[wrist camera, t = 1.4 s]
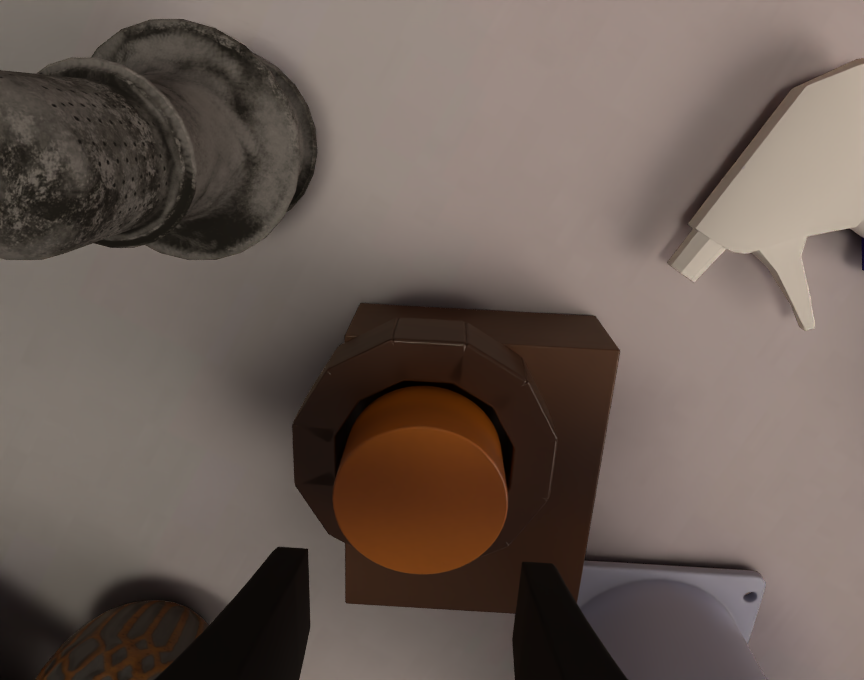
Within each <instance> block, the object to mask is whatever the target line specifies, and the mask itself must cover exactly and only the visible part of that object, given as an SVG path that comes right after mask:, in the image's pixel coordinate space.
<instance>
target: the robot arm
mask: <svg viewBox="0 0 864 680" xmlns="http://www.w3.org/2000/svg"><path fill="white" fill-rule="evenodd" d="M765 587H766V582H765V580H764V579H763V577H762V576H761V574H760V573H758V572H757V571H752V570H736V569H719V568H702V567H686V566H669V565H652V564H635V563H619V562H602V561H585V560H584V565H583V571H582V577H581V583H580V589H579V595H578V600H577V603H576V601H575V599H574V598H573V596H572V594H571V593H570V591H569V589H568V587H567V586H566V584H565V582H564V580H563V579H562V577H561V575H560V573H559V571H558V569H557V568H556V567H555V566H554V565H553V563H538V562H522V566H521V574H520V582H519V590H518V598H517V606H516V614H515V622H514V630H513V638H512V642H513V658H514V673H515V680H767V679H766V677H765V675H764V673H763V671H762V670H761V668H760V666H759V664H758V662H757V661H756V659H755V657H754V655H753V654H752V652H751V650H750V648H749V646H748V642H749V639H750V636H751V632H752V629H753V626H754V623H755V620H756V616H757V613H758V610H759V607H760V603H761V600H762V597H763V594H764V590H765ZM748 592H751V593H749V594H747V595H745V594H746V593H748ZM309 631H310V601H309V568H308V549H303V548H287V547H277V548H276V549H275V550H274V551H273V552H272V553H271V554H270V555H269V557H268V558H267V559H266V560H265V562H264V563H263V564H262V565H261V567H260V568H259V569H258V570H257V571H256V573H255V574H254V575H253V576H252V578H251V579H250V580H249V581H248V582H247V583H246V585H245V586H244V587H243V588H242V589H241V590H240V592H239V593H238V594H237V595H236V596H235V597H234V599H233V600H232V601H231V602H230V603H229V604H228V605H227V606H226V607H225V608H224V610H223V611H222V612H221V613H220V614H219V615H218V616H217V617H216V618H215V619H214V621H213V622H212V623H211V624H210V625H209V626H208V627H207V628H206V629H205V630H204V631H203V632H202V633H201V634H200V635H199V636H198V637H197V638H196V639H195V640H194V641H193V642H192V643H191V644H190V645H189V646H188V647H187V648H186V649H185V650H184V651H183V652H182V653H181V654H180V655H179V656H178V657H177V658H176V659H175V660H174V661H173V662H172V663H171V664H170V665H169V666H168V667H167V668H166V669H165V670H164V671H163V672H162V673H160V674H159V675H158V676H157V677H156V678H155V679H154V680H299V678H300V673H301V669H302V664H303V659H304V655H305V650H306V645H307V640H308V635H309Z"/></svg>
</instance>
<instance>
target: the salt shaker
mask: <svg viewBox="0 0 864 680" xmlns="http://www.w3.org/2000/svg"><path fill="white" fill-rule="evenodd" d="M316 157H317V143H316V129H315V126H314V123H313V120H312V117H311V114H310V111H309V108H308V105H307V104H306V102H305V100H304V99H303V97H302V95H301V94H300V92H299V91H298V89H297V87H296V86H295V84H294V83H293V82H292V81H291V80H290V79H289V78H288V77H287V76H286V75H285V74H284V73H283V72H282V71H281V70H280V69H279V68H278V67H276V66H274V65H273V64H271V63H269V62H268V61H266V60H264V59H263V58H261V57H259V56H258V55H256V54H253V53H252V52H251V51H250V50H249V49H248V48H247V47H246V46H245V45H243V44H241V43H239V42H238V41H236V40H234V39H233V38H231V37H229V36H228V35H226V34H224V33H223V32H221V31H219V30H217V29H216V28H213V27H209V26H205V25H202V24H198V23H195V22H191V21H187V20H184V19H156V20H148V21H145V22H142V23H139V24H136V25H133V26H130V27H127V28H124V29H121V30H120V31H119V32H118V33H116V34H115V35H114V36H112V37H111V38H110V39H108V40H107V41H106V42H104V43H103V44H102V45H100V46H99V47H98V48H97V49H96V51H95V52H94V54H93V55H92V57H91V58H68V59H65V60H62V61H59V62H56V63H53V64H49V65H48V66H46V67H45V68H44V69H42V70H41V71H40V72H38V73H37V74H32V73H22V72H12V71H1V70H0V258H2V259H6V260H43V259H46V258H50V257H53V256H57V255H61V254H64V253H67V252H69V251H72V250H75V249H78V248H81V247H83V246H86V245H89V244H92V243H95V244H99V245H103V246H107V247H111V248H134V247H138V246H142V245H146V246H148V247H150V248H152V249H154V250H156V251H158V252H160V253H163V254H167V255H171V256H175V257H179V258H183V259H187V260H216V259H220V258H224V257H227V256H231V255H234V254H238V253H241V252H243V251H245V250H246V249H248V248H250V247H251V246H253V245H254V244H256V243H258V242H259V241H261V240H262V239H264V238H266V237H267V235H268V234H269V233H270V232H271V231H272V230H273V229H274V227H275V226H276V225H277V224H278V223H279V222H280V221H281V220H282V218H283V217H284V215H285V213H286V212H287V211H289V210H290V209H291V208H292V207H293V206H294V205H295V204H296V203H297V201H298V200H299V199H300V198H301V197H302V196H303V195H304V193H305V191H306V189H307V187H308V185H309V183H310V180H311V178H312V176H313V173H314V168H315V162H316Z"/></svg>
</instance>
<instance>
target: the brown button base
mask: <svg viewBox="0 0 864 680" xmlns="http://www.w3.org/2000/svg"><path fill="white" fill-rule="evenodd" d="M619 355H620V350H619V348H618V347H617V346H616V344H615V343H614V341H613V340H612V339H611V337H610V336H609V334H608V333H607V332H606V330H605V329H604V327H603V326H602V325H601V323H600V322H599V320H598V319H597V318H596V316H585V315H567V314H549V313H531V312H513V311H495V310H477V309H459V308H440V307H422V306H404V305H386V304H368V303H360V305H359V307H358V309H357V311H356V313H355V315H354V317H353V320H352V322H351V324H350V326H349V328H348V330H347V332H346V334H345V343H343V344H341V345H339V347H337V348H336V350H335V352H334V353H333V355H332V356H331V358H330V359H329V361H328V363H327V364H326V366H325V367H324V369H323V371H322V372H321V374H320V375H319V377H318V378H317V380H316V382H315V383H314V385H313V386H312V388H311V390H310V391H309V393H308V394H307V396H306V398H305V400H304V402H303V404H302V406H301V408H300V410H299V412H298V414H297V416H296V417H295V419H294V421H293V425H292V432H293V458H294V483H295V486H296V487H297V489H298V490H299V492H300V493H301V495H302V496H303V498H304V499H305V501H306V502H307V503H308V505H309V506H310V508H311V509H312V511H313V512H314V514H315V515H316V517H317V518H318V519H319V521H320V522H321V524H322V525H323V527H324V528H325V530H326V531H327V533H328V534H329V535H330V534H331V536H333V537H335V538H337V539H338V540H340V541H342V542H344V543H345V602H346V603H348V604H365V605H381V606H398V607H414V608H431V609H447V610H464V611H480V612H497V613H513V614H516V606H517V598H518V590H519V582H520V574H521V566H522V562H538V563H553V565H554V566H555V567H556V568H557V569H558V571H559V573H560V575H561V577H562V579H563V580H564V582H565V584H566V586H567V587H568V589H569V591H570V593H571V594H572V596H573V598H574V599H575V601H576V603H577V600H578V595H579V589H580V583H581V577H582V571H583V565H584V560H585V554H586V548H587V542H588V536H589V530H590V524H591V519H592V513H593V507H594V501H595V495H596V489H597V484H598V478H599V472H600V466H601V460H602V454H603V449H604V443H605V437H606V431H607V425H608V419H609V414H610V408H611V402H612V396H613V390H614V384H615V378H616V373H617V367H618V361H619ZM411 386H434V387H440V388H444V389H448V390H451V391H454V392H456V393H459V394H460V395H462V396H464V397H466V398H468V399H469V400H471V401H472V402H474V403H475V404H476V405H477V406H479V407H480V408H481V409H482V410H483V411H484V412H485V414H486V415H487V416H488V417H489V419H490V420H491V422H492V423H493V425H494V427H495V429H496V431H497V433H498V437H499V440H500V445H501V451H502V458H503V465H504V471H505V478H506V485H507V492H508V511H507V517H506V520H505V523H504V526H503V528H502V530H501V532H500V534H499V536H498V537H497V539H496V540H495V541H494V543H493V544H492V545H491V546H490V547H489V548H488V549H487V550H486V551H485V552H484V553H483V554H482V555H480V556H479V557H478V558H476V559H475V560H473V561H472V562H470V563H468V564H466V565H464V566H462V567H459V568H457V569H454V570H450V571H447V572H442V573H436V574H410V573H403V572H399V571H395V570H392V569H389V568H386V567H383V566H381V565H379V564H377V563H375V562H373V561H371V560H370V559H368V558H366V557H365V556H364V555H362V554H361V553H360V552H359V551H357V550H356V549H355V548H354V547H353V546H352V545H351V544H350V542H349V541H348V540H347V538H346V537H345V536H344V534H343V532H342V531H341V529H340V527H339V525H338V522H337V520H336V517H335V514H334V509H333V501H332V494H333V486H334V481H335V478H336V474H337V471H338V468H339V465H340V462H341V459H342V456H343V452H344V449H345V446H346V443H347V440H348V437H349V434H350V431H351V429H352V426H353V424H354V423H355V421H356V419H357V417H358V416H359V415H360V414H361V412H362V411H363V410H364V409H365V408H366V407H367V406H368V405H369V404H370V403H372V402H373V401H375V400H376V399H377V398H379V397H381V396H383V395H385V394H386V393H389V392H391V391H394V390H397V389H401V388H405V387H411Z"/></svg>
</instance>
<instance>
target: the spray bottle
mask: <svg viewBox="0 0 864 680" xmlns="http://www.w3.org/2000/svg"><path fill="white" fill-rule="evenodd" d="M688 225H689V226H690V227H691V228H693V229H692V231H691V232H690V233H689V235H688V236H687V237H686V238H685V240H684V241H683V242H682V244H681V245H680V246H679V248H678V249H677V250H676V252H675V253H674V254H673V256H672V257H671V258H670V259H669V261H668V262H667V263H668V264H669V265H670V266H671V267H673V268H674V269H676V270H677V271H678V272H680V273H681V274H683V275H684V276H685V277H687V278H688V279H689V280H691V281H692V282H695V281H696V280H697V279H698V278H699V277H700V276H701V275H702V274H703V273H704V272H705V271H706V270H707V269H708V268H709V267H710V265H711V264H712V263H713V262H714V261H715V260H716V259H717V258H718V257H719V256H720V255H721V254H722V253H723V252H724V251H725V250H726V249H728V250H730V251H731V252H736V253H743V254H748V253H752V254H753V255H754V256H756V257H757V258H758V259H759V260H760V261H761V262H762V263H763V264H764V265H765V266H766V267H767V269H768V270H769V272H770V273H771V275H772V276H773V278H774V280H775V281H776V283H777V284H778V286H779V287H780V289H781V291H782V292H783V294H784V295H785V297H786V298H787V300H788V302H789V303H790V305H791V307H792V310H793V312H794V315H795V317H796V320H797V322H798V325H799V327H800V328H801V329H803V330H805V331H808V330H811V329H814V328H815V323H814V316H813V309H812V302H811V296H810V292H809V288H808V283H807V279H806V275H805V271H804V266H803V262H802V258H801V254H802V251H803V248H804V245H805V242H806V239H807V236H812V235H817V234H822V233H828V232H833V231H838V230H843V229H848V228H850V229H851V230H853V231H854V232H856V233H857V234H859V235H860V236H861V239H862V270H864V58H861V59H856V60H854V61H851V62H849V63H847V64H845V65H843V66H840V67H838V68H836V69H834V70H832V71H830V72H827V73H825V74H823V75H821V76H819V77H816V78H814V79H812V80H810V81H808V82H806V83H803V84H801V85H799V86H797V87H795V88H792V89H791V90H790V92H789V93H788V94H787V96H786V97H785V98H784V100H783V101H782V102H781V103H780V105H779V106H778V107H777V109H776V110H775V111H774V113H773V114H772V115H771V116H770V118H769V119H768V120H767V122H766V123H765V124H764V126H763V127H762V128H761V129H760V131H759V132H758V133H757V135H756V136H755V137H754V139H753V140H752V141H751V142H750V144H749V145H748V146H747V148H746V149H745V150H744V152H743V153H742V154H741V155H740V157H739V158H738V159H737V161H736V162H735V163H734V165H733V166H732V167H731V168H730V170H729V171H728V172H727V174H726V175H725V176H724V178H723V179H722V180H721V181H720V183H719V184H718V185H717V187H716V188H715V189H714V190H713V192H712V193H711V194H710V196H709V197H708V198H707V200H706V201H705V202H704V203H703V205H702V206H701V207H700V209H699V210H698V211H697V213H696V214H695V215H694V216H693V218H692V219H691V220H690V222H689V223H688Z"/></svg>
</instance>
